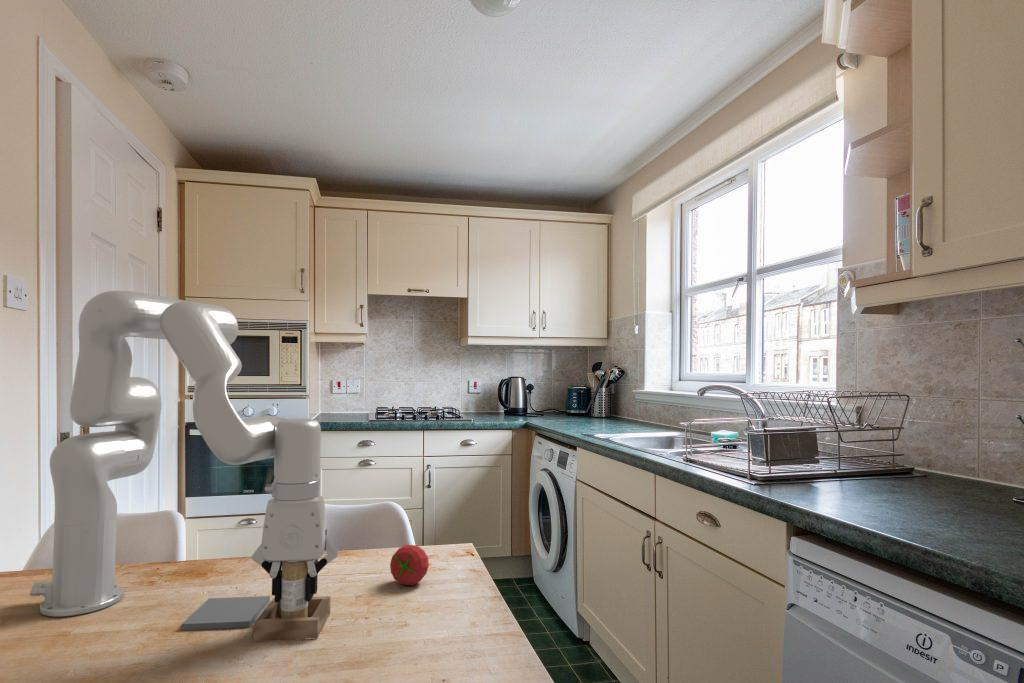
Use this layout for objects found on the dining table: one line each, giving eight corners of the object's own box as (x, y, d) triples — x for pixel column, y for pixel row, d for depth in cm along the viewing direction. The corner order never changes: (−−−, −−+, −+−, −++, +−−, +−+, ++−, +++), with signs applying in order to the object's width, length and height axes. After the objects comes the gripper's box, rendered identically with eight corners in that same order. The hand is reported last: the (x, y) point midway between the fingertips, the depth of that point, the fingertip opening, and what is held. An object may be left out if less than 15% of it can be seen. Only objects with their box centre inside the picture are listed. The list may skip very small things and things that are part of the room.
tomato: (416, 535, 123) (400, 537, 116) (441, 561, 120) (426, 566, 113) (392, 563, 123) (375, 568, 116) (416, 591, 120) (399, 597, 113)
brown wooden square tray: (253, 641, 92) (254, 622, 93) (272, 615, 102) (273, 598, 102) (317, 638, 93) (317, 619, 94) (330, 613, 103) (330, 596, 104)
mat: (181, 630, 96) (181, 624, 97) (208, 603, 107) (209, 598, 107) (249, 627, 98) (249, 621, 98) (269, 601, 109) (269, 596, 109)
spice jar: (302, 618, 101) (304, 541, 102) (312, 627, 98) (313, 547, 98) (276, 625, 98) (277, 546, 99) (284, 635, 95) (286, 552, 95)
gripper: (237, 496, 94) (235, 609, 94) (342, 494, 96) (340, 605, 95) (253, 487, 102) (251, 592, 101) (350, 485, 104) (348, 588, 103)
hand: (294, 597), depth 98 cm, fingers closed on spice jar, 4 cm apart
